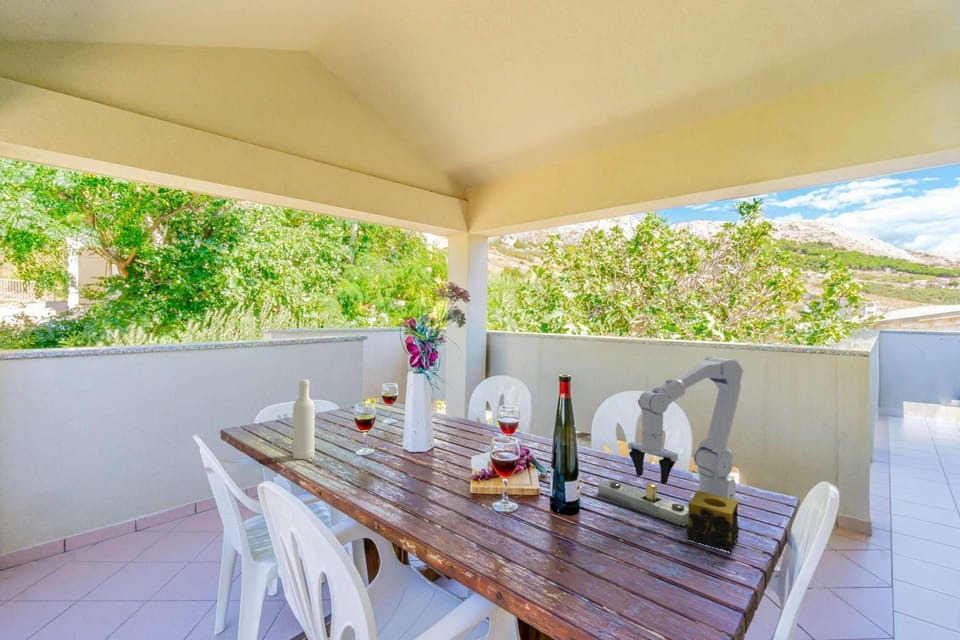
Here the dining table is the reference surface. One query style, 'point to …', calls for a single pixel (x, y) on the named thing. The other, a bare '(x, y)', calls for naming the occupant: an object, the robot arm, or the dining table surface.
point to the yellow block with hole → (713, 520)
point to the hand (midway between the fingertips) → (651, 479)
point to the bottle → (303, 423)
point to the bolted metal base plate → (644, 502)
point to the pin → (651, 492)
